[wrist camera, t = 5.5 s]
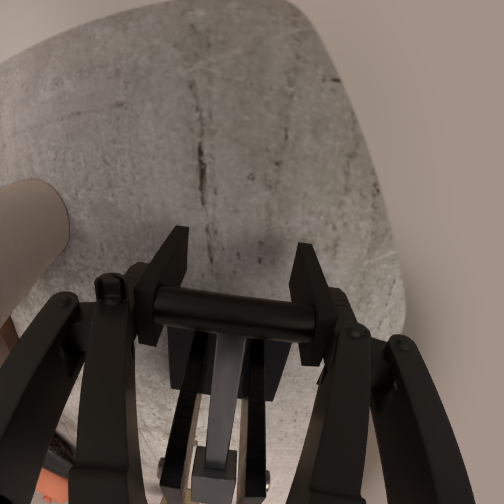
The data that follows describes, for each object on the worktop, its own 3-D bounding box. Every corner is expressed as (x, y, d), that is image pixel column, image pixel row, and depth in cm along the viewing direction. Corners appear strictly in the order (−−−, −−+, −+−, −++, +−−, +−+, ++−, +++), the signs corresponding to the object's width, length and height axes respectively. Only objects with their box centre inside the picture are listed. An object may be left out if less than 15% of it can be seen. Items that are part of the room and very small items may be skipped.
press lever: (166, 277, 12) (149, 293, 10) (308, 296, 12) (322, 316, 10) (164, 467, 14) (156, 495, 12) (262, 479, 14) (265, 508, 12)
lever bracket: (170, 287, 20) (104, 451, 9) (298, 304, 21) (327, 478, 9) (173, 378, 25) (141, 507, 13) (272, 391, 25) (276, 523, 13)
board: (108, 475, 40) (102, 495, 35) (26, 443, 40) (18, 459, 35) (61, 417, 31) (48, 443, 26) (-25, 378, 30) (-38, 396, 26)
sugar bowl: (83, 481, 46) (73, 513, 37) (71, 484, 51) (62, 511, 42) (39, 456, 43) (26, 487, 34) (34, 462, 47) (23, 489, 38)
